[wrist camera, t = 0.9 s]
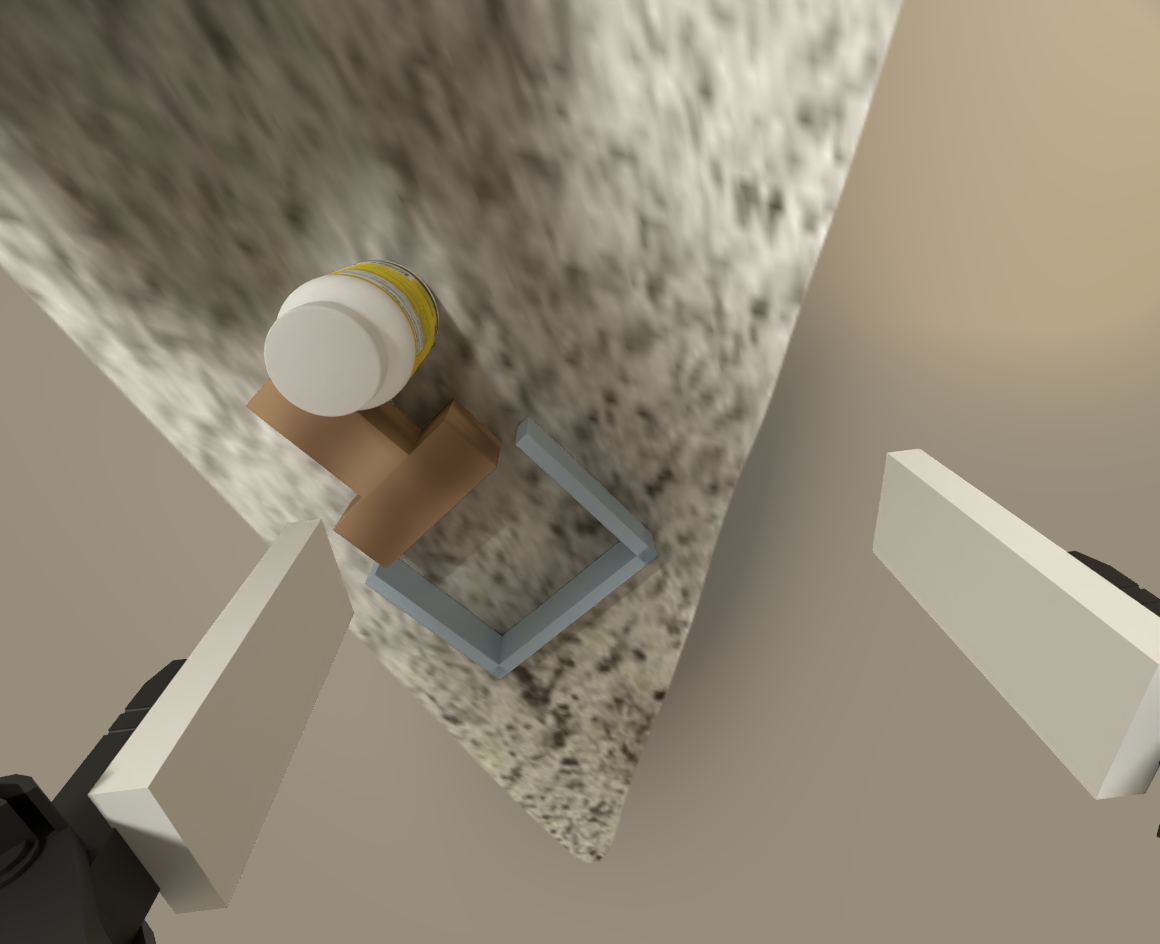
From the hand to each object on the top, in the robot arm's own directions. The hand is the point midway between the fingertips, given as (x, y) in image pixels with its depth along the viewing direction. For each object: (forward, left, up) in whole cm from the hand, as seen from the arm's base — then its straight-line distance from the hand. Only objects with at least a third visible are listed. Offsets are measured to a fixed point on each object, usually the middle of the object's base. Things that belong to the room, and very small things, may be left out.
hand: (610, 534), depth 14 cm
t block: (-4, -13, -23) cm, 27 cm away
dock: (+8, -13, -23) cm, 28 cm away
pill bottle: (-8, -7, -23) cm, 26 cm away
